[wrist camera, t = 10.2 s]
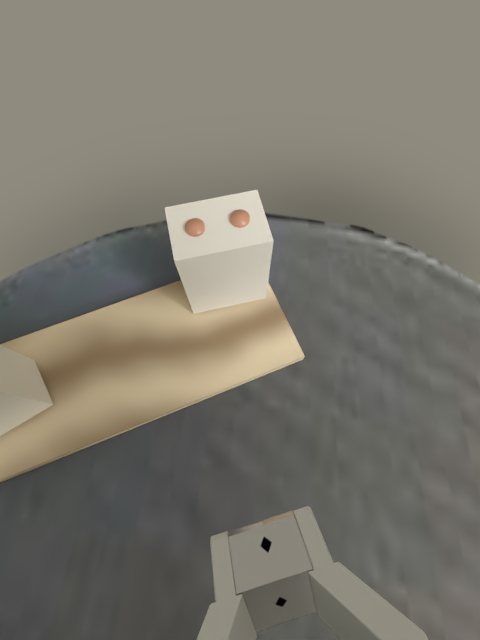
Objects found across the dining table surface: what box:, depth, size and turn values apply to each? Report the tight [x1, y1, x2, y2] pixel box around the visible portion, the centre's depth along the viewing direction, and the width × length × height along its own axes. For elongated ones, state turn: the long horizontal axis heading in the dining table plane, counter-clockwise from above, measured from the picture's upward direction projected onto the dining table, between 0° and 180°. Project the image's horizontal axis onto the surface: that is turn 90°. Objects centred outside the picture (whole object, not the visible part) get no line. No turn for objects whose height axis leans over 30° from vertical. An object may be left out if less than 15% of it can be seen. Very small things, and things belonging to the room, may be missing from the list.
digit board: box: [0, 280, 305, 483], centre depth 26 cm, size 10×26×1 cm, turn 112°
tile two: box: [165, 190, 274, 314], centre depth 24 cm, size 4×6×8 cm
